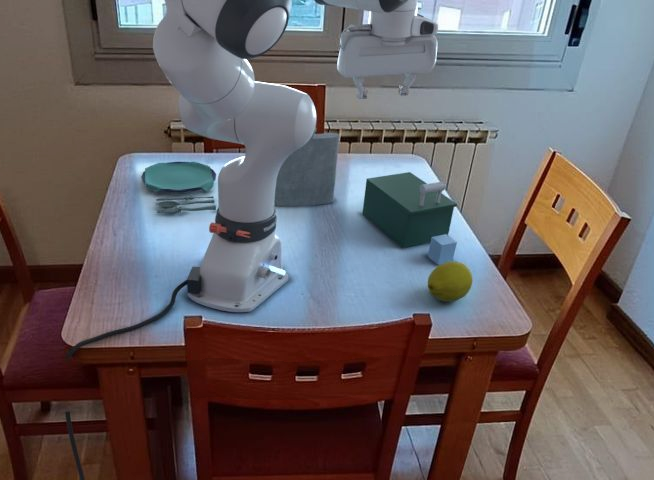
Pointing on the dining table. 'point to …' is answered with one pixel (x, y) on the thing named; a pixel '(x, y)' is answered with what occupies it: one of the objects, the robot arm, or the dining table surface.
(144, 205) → the dining table surface
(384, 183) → the bin lid
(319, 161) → the hip flask
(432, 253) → the block
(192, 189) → the cutlery set
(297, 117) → the robot arm
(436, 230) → the bin
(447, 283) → the lemon
